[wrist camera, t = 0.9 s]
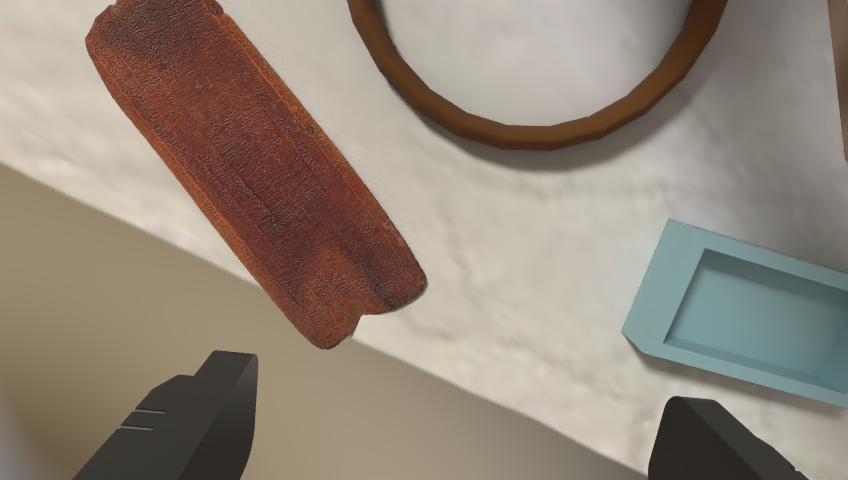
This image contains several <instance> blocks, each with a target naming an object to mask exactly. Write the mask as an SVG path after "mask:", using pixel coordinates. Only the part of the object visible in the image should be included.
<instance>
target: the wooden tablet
mask: <svg viewBox="0 0 848 480" xmlns="http://www.w3.org/2000/svg"><path fill="white" fill-rule="evenodd" d="M85 43H86V47H87V51H88V53H89V56H90V58H91V59H92V61H93V63H94V65H95V67H96V69H97V71H98V73H99V75H100V77H101V79H102V80H103V82H104V84H105V86H106V87H107V89H108V91H109V92H110V94H111V96H112V98H113V99H114V100H115V101H116V103H117V104H118V105H119V107H120V108H121V110H122V111H123V112H124V113H125V115H126V116H127V117H128V118H129V119H130V120H131V121H132V123H133V124H134V125H135V127H136V128H137V129H138V130H139V131H140V133H141V134H142V135H143V136H144V137H145V138H146V140H147V141H148V142H149V144H150V145H151V146H152V148H153V149H154V150H155V151H156V152H157V154H158V155H159V156H160V158H161V159H162V160H163V162H164V163H165V164H166V165H167V167H168V168H169V169H170V170H171V172H172V173H173V174H174V175H175V177H176V178H177V180H178V181H179V182H180V183H181V184H182V186H183V187H184V188H185V190H186V191H187V192H188V193H189V195H190V196H191V197H192V199H193V200H194V202H195V203H196V204H197V206H198V207H199V208H200V210H201V211H202V212H203V214H204V215H205V216H206V217H207V218H208V220H209V221H210V222H211V224H212V225H213V226H214V228H215V229H216V230H217V231H218V233H219V234H220V236H221V237H222V238H223V239H224V240H225V242H226V243H227V244H228V246H229V247H230V248H231V250H232V251H233V252H234V254H235V255H236V256H237V257H238V259H239V260H240V261H241V262H242V263H243V264H244V266H245V267H246V268H247V270H248V271H249V272H250V274H251V275H252V276H253V277H254V278H255V280H256V281H257V282H258V283H259V284H260V285H261V286H262V288H263V289H264V290H265V292H266V293H267V294H268V295H269V296H270V297H271V299H272V300H273V301H274V302H275V304H276V305H277V306H278V307H279V308H280V310H281V311H282V312H283V313H284V315H285V316H286V317H287V318H288V320H290V322H292V324H293V325H294V326H295V328H297V329H298V331H299V332H300V333H301V334H302V335H303V336H304V337H306V338H307V339H308V340H309V341H310V342H311V343H312V344H313V345H315V346H316V347H318V348H320V349H331V348H333V347H335V346H336V345H338V344H339V343H340V342H341V341H342V340H344V339H345V338H346V337H347V336H348V335H350V334H351V332H352V331H353V330H354V329H355V328H356V326H357V325H358V322H359V320H360V317H361V316H362V315H370V314H371V315H374V314H380V313H384V312H387V311H390V310H392V309H395V308H397V307H399V306H401V305H403V304H405V303H407V302H408V301H410V300H412V299H413V298H414V297H416V296H417V295H418V294H419V293H420V292H421V291H422V289H423V288H424V287H423V286H424V284H425V277H424V273H423V272H422V270H421V268H420V266H419V265H418V263H417V261H416V259H415V258H414V257H413V255H412V253H411V251H410V249H409V247H408V246H407V244H406V243H405V241H404V239H403V238H402V237H401V235H400V234H399V232H398V231H397V229H396V228H395V227H394V225H393V223H392V222H391V221H390V219H389V218H388V216H387V214H386V213H385V211H384V210H383V209H382V207H381V206H380V205H379V203H378V202H377V200H376V199H375V198H374V196H373V195H372V193H371V192H370V191H369V190H368V188H367V187H366V185H365V184H364V183H363V182H362V181H361V179H360V178H359V176H358V175H357V174H356V172H355V171H354V170H353V168H352V167H351V166H350V165H349V163H348V162H347V161H346V159H345V158H344V157H343V155H342V154H341V153H340V151H339V150H338V149H337V147H336V146H335V145H334V144H333V143H332V141H331V140H330V139H329V138H328V137H327V135H326V134H325V133H324V132H323V131H322V129H321V128H320V127H319V126H318V124H317V123H316V122H315V121H314V119H313V118H312V117H311V116H310V114H309V113H308V112H307V110H306V109H305V108H304V107H303V106H302V104H301V103H300V102H299V100H298V99H297V98H296V97H295V95H294V94H293V93H292V92H291V91H290V89H289V88H288V87H287V86H286V85H285V83H284V82H283V81H282V80H281V78H280V77H279V76H278V75H277V73H276V72H275V71H274V70H273V69H272V67H271V66H270V65H269V64H268V63H267V61H266V60H265V59H264V58H263V56H262V55H261V54H260V53H259V52H258V50H257V49H256V48H255V46H254V45H253V44H252V43H251V42H250V41H249V39H248V38H247V37H246V36H245V35H244V33H243V32H242V31H241V30H240V28H239V27H238V26H237V25H236V23H235V22H234V21H233V20H232V19H231V17H230V16H228V15H227V14H225V13H223V11H222V8H221V6H220V5H219V4H218V3H217V2H216V1H215V0H117V1H116V3H115V5H109V6H108V7H107V8H106V9H105V10H104V11H103V12H102V13H101V14H100V15H98V16H97V17H96V18H95V21H94V23H93V26H92V28H91V30H90V32H89V33H88V35H87V36H86V38H85Z"/></svg>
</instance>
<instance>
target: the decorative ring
mask: <svg viewBox="0 0 848 480" xmlns="http://www.w3.org/2000/svg"><path fill="white" fill-rule="evenodd" d="M727 1H728V0H694V2H693V4H692V7H691V10H690V12H689V15H688V18H687V20H686V23H685V26H684V28H683V30H682V31H681V33H680V34H679V36H678V37H677V39H676V40H675V42H674V43H673V45H672V46H671V48H670V49H669V51H668V52H667V54H666V55H665V57H664V58H663V60H662V61H661V63H660V64H659V66H658V67H657V68H656V69H655V70H654V71H653V72H652V73H650V74H649V75H648V76H647V77H646V78H645V79H644V80H643V81H642V82H641V83H640V84H639V85H638V86H636V87H635V88H634V89H633V90H632V91H631V92H630V93H629V94H628V95H627V96H625V97H624V98H622V99H620V100H618V101H616V102H614V103H613V104H611V105H609V106H607V107H605V108H604V109H602V110H600V111H598V112H596V113H594V114H593V115H591V116H589V117H585V118H581V119H577V120H573V121H569V122H565V123H560V124H556V125H552V126H517V125H505V124H502V123H498V122H495V121H492V120H489V119H486V118H482V117H479V116H476V115H473V114H469V113H467V112H465V111H463V110H462V109H460V108H459V107H457V106H456V105H454V104H453V103H451V102H449V101H448V100H446V99H445V98H443V97H442V96H440V95H439V94H437V93H435V92H434V91H432V90H431V89H430V88H429V87H428V86H427V85H426V84H425V83H424V82H423V81H422V80H421V79H420V77H419V76H418V75H417V74H416V73H415V72H414V71H413V70H412V69H411V68H410V66H409V65H408V64H407V63H406V62H405V61H404V60H403V59H402V58H401V57H400V55H399V54H398V52H397V50H396V48H395V46H394V45H393V43H392V41H391V39H390V37H389V35H388V33H387V31H386V29H385V28H384V26H383V24H382V22H381V20H380V18H379V16H378V14H377V13H376V9H375V5H374V1H373V0H347V2H348V6H349V10H350V13H351V17H352V21H353V23H354V25H355V27H356V29H357V31H358V33H359V34H360V36H361V38H362V40H363V42H364V44H365V45H366V47H367V49H368V51H369V53H370V55H371V56H372V58H373V60H374V62H375V64H376V66H377V67H378V69H379V71H380V72H381V73H382V74H383V75H384V76H385V77H386V78H387V79H388V81H389V82H390V83H391V84H392V85H393V86H394V87H395V88H396V89H397V90H398V91H399V92H400V93H401V95H402V96H403V97H404V98H405V99H406V100H407V101H408V102H409V103H410V104H411V105H412V106H413V108H414V109H416V110H417V111H419V112H421V113H422V114H424V115H425V116H427V117H428V118H430V119H432V120H433V121H435V122H436V123H438V124H440V125H441V126H443V127H444V128H446V129H447V130H449V131H451V132H452V133H454V134H455V135H457V136H460V137H464V138H467V139H470V140H474V141H477V142H480V143H483V144H487V145H490V146H493V147H497V148H500V149H505V150H546V151H552V150H556V149H560V148H564V147H569V146H573V145H577V144H581V143H585V142H589V141H593V140H597V139H600V138H602V137H604V136H606V135H608V134H609V133H611V132H613V131H615V130H617V129H619V128H620V127H622V126H624V125H626V124H628V123H630V122H631V121H633V120H635V119H637V118H639V117H641V116H642V115H644V114H646V113H647V112H648V111H649V110H650V109H651V108H652V107H653V106H654V105H655V104H656V103H658V102H659V101H660V100H661V99H662V98H663V97H664V96H665V95H666V94H667V93H668V92H670V91H671V90H672V89H673V88H674V87H675V86H676V85H677V84H678V83H679V82H680V81H682V80H683V79H684V78H685V76H686V75H687V73H688V72H689V70H690V69H691V67H692V66H693V64H694V63H695V61H696V60H697V58H698V57H699V55H700V54H701V53H702V51H703V50H704V48H705V47H706V45H707V44H708V42H709V41H710V39H711V38H712V36H713V35H714V33H715V32H716V29H717V27H718V24H719V22H720V19H721V17H722V14H723V11H724V9H725V6H726V4H727Z"/></svg>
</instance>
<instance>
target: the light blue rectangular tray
mask: <svg viewBox="0 0 848 480" xmlns="http://www.w3.org/2000/svg"><path fill="white" fill-rule="evenodd" d="M621 332H622V333H623V334H624V335H625V336H626V337H627V338H628V339H629V340H630V341H631V342H632V343H634V344H635V345H636V346H637V347H638V348H639V349H640V350H641V351H642V352H643V353H645V354H649V355H652V356H656V357H660V358H663V359H667V360H671V361H674V362H678V363H682V364H685V365H689V366H693V367H696V368H700V369H704V370H707V371H711V372H715V373H718V374H722V375H726V376H729V377H733V378H737V379H741V380H744V381H748V382H752V383H755V384H759V385H763V386H766V387H770V388H774V389H777V390H781V391H785V392H788V393H792V394H796V395H799V396H803V397H807V398H810V399H814V400H818V401H821V402H825V403H829V404H833V405H836V406H840V407H844V408H847V409H848V273H845V272H841V271H838V270H835V269H832V268H828V267H825V266H822V265H818V264H815V263H812V262H809V261H805V260H802V259H799V258H796V257H792V256H789V255H786V254H783V253H779V252H776V251H773V250H770V249H766V248H763V247H760V246H757V245H753V244H750V243H747V242H744V241H740V240H737V239H734V238H731V237H727V236H724V235H721V234H718V233H714V232H711V231H708V230H705V229H701V228H698V227H695V226H692V225H688V224H685V223H682V222H679V221H675V220H672V219H668V222H667V224H666V227H665V229H664V231H663V234H662V236H661V238H660V241H659V243H658V246H657V248H656V250H655V253H654V255H653V258H652V260H651V262H650V265H649V267H648V269H647V272H646V274H645V277H644V279H643V281H642V284H641V286H640V289H639V291H638V293H637V296H636V298H635V300H634V303H633V305H632V308H631V310H630V312H629V315H628V317H627V319H626V322H625V324H624V327H623V329H622V331H621Z"/></svg>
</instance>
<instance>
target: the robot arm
mask: <svg viewBox="0 0 848 480" xmlns="http://www.w3.org/2000/svg"><path fill="white" fill-rule="evenodd" d="M257 378H258V358H257V355H256V354H249V353H238V352H227V351H218V350H215V351H214V352H212V353H211V355H210V356H209V357H208V358H207V360H206V361H205V362H204V364H203V365H202V366H201V368H200V369H199V370H198V371H197V373H196V374H195V375H194V376H187V375H177V376H175V377H173V378H172V379H170V380H168V381H166V382H164V383H163V384H161V385H159V386H157V387H155V388H154V389H152V390H151V391H150V393H149V394H148V395H147V396H146V397H145V398H144V399H143V400H142V402H141V403H140V404H139V405H138V406H137V407H136V409H135V412H132V413H131V414H130V415H129V416H128V417H127V418H126V419H125V421H124V422H123V423H122V424H121V427H120V429H116V431H115V432H114V433H113V434H112V435H111V436H110V437H109V438H108V440H107V441H106V442H105V443H104V444H103V445H102V446H101V447H100V449H99V450H98V451H97V452H96V453H95V454H94V455H93V456H92V458H91V459H90V460H89V461H88V462H87V463H86V464H85V465H84V466H83V468H82V469H81V470H80V471H79V472H78V473H77V474H76V475H75V477H74V478H73V479H72V480H240V478H241V476H242V474H243V471H244V469H245V467H246V464H247V461H248V458H249V455H250V451H251V447H252V442H253V437H254V428H255V412H256V395H257ZM648 479H649V480H809V479H808V478H806V477H805V476H804V475H803V474H802V473H801V472H800V471H795V467H794V466H793V465H792V464H791V463H790V462H789V461H787V460H786V459H785V458H784V457H783V456H782V455H781V454H780V453H779V452H777V451H776V450H775V449H774V448H773V447H772V446H770V445H769V444H767V443H765V442H764V441H762V440H761V439H759V438H757V437H756V436H755V435H753V434H752V433H751V432H750V431H749V430H748V429H747V428H746V427H745V426H744V425H742V424H741V423H740V422H739V421H738V420H737V419H736V418H735V417H734V416H733V415H731V414H730V413H729V412H728V411H727V410H726V409H725V408H724V407H723V406H722V405H721V404H719V403H718V402H717V401H715V400H711V399H701V398H690V397H680V396H674V397H672V398H670V399H669V400H668V402H667V403H666V405H665V408H664V411H663V415H662V419H661V422H660V426H659V429H658V433H657V436H656V440H655V443H654V447H653V451H652V454H651V458H650V461H649V467H648Z"/></svg>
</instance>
